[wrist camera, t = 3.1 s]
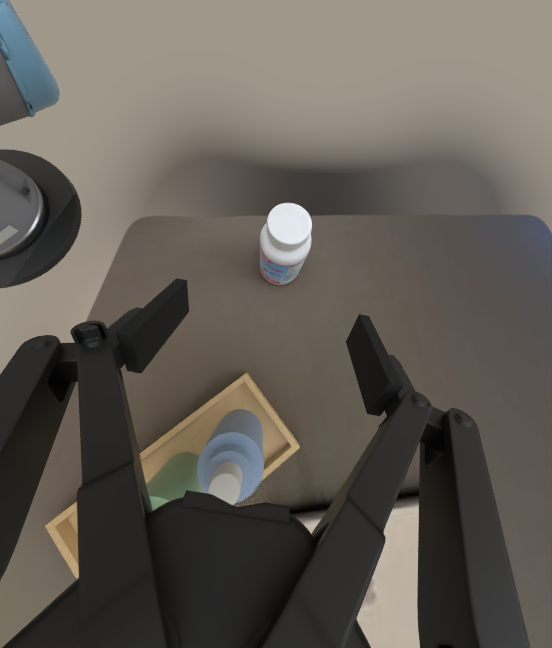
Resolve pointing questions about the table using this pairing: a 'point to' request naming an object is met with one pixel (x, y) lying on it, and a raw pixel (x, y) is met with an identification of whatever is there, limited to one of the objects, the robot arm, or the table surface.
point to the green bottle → (174, 479)
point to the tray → (193, 449)
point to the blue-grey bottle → (233, 457)
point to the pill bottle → (284, 243)
